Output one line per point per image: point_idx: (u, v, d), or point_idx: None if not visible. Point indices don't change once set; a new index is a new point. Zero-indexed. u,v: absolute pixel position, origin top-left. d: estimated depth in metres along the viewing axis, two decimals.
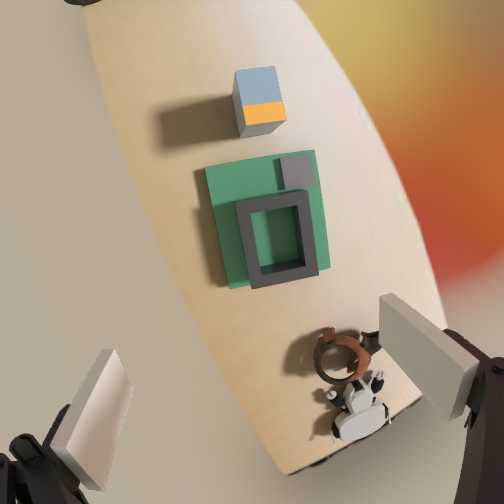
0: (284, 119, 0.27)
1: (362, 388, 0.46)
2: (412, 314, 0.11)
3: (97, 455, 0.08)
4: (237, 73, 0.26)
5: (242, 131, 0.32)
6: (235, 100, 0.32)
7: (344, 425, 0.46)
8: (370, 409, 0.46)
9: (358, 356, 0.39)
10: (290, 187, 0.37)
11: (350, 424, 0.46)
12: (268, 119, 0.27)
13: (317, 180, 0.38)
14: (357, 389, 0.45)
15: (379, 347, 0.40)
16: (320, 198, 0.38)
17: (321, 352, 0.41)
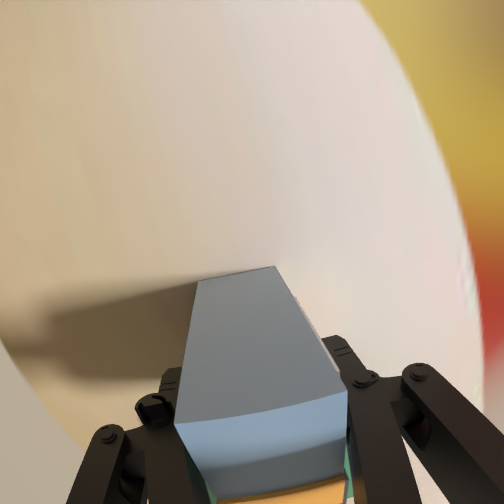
0: (337, 501, 0.08)
1: None
2: None
3: None
4: (184, 432, 0.06)
5: None
6: None
7: None
8: None
9: None
10: None
11: None
12: None
13: None
14: None
15: None
16: None
17: None
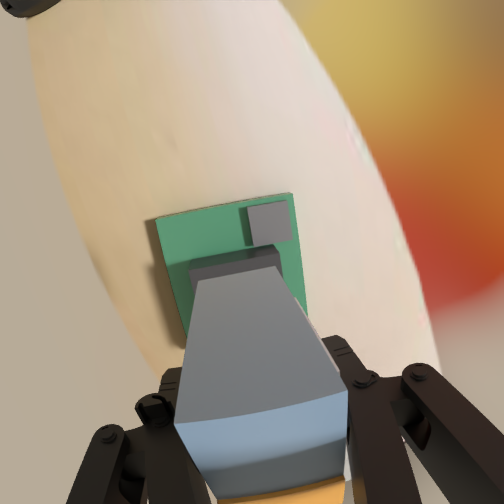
0: (337, 501, 0.07)
1: None
2: None
3: None
4: (184, 433, 0.06)
5: None
6: None
7: None
8: None
9: None
10: (260, 244, 0.30)
11: None
12: None
13: (295, 232, 0.31)
14: None
15: None
16: (298, 254, 0.32)
17: None
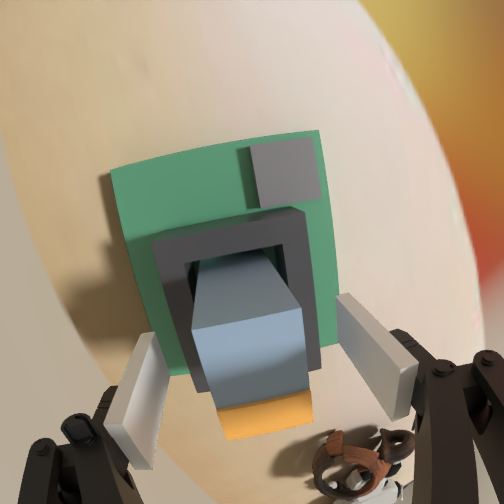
0: (308, 420, 0.12)
1: None
2: (362, 313, 0.12)
3: (146, 433, 0.09)
4: (197, 337, 0.10)
5: None
6: None
7: None
8: (380, 494, 0.28)
9: (374, 474, 0.22)
10: (271, 203, 0.19)
11: None
12: (274, 427, 0.12)
13: (324, 189, 0.20)
14: (365, 479, 0.27)
15: (404, 457, 0.23)
16: (329, 223, 0.20)
17: (323, 469, 0.24)
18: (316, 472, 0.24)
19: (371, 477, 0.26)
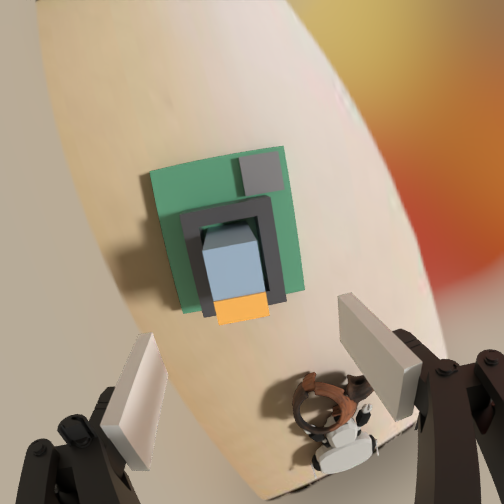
0: (267, 314, 0.23)
1: None
2: (365, 313, 0.12)
3: (143, 434, 0.09)
4: (205, 255, 0.22)
5: None
6: None
7: (325, 459, 0.40)
8: (355, 443, 0.40)
9: (341, 407, 0.33)
10: (252, 193, 0.30)
11: (331, 458, 0.40)
12: (246, 316, 0.23)
13: (287, 183, 0.31)
14: None
15: (366, 395, 0.34)
16: (291, 206, 0.31)
17: (299, 402, 0.35)
18: (294, 405, 0.36)
19: None
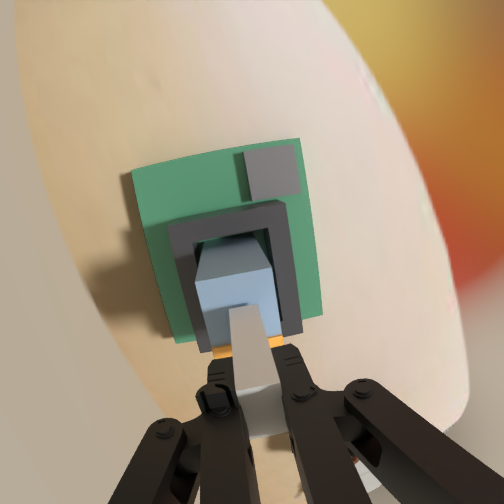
0: None
1: None
2: (256, 326, 0.13)
3: None
4: (199, 287, 0.15)
5: None
6: None
7: None
8: (368, 472, 0.33)
9: None
10: (260, 197, 0.24)
11: None
12: None
13: (304, 185, 0.24)
14: (353, 455, 0.33)
15: None
16: (308, 213, 0.25)
17: None
18: None
19: None
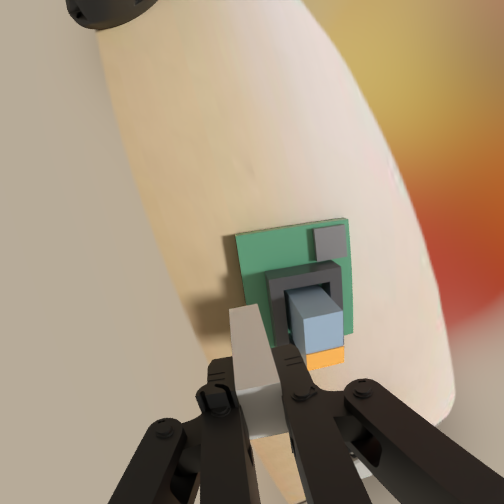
0: (342, 361, 0.29)
1: None
2: (256, 326, 0.13)
3: None
4: (305, 322, 0.28)
5: None
6: (291, 310, 0.34)
7: None
8: None
9: None
10: (322, 259, 0.36)
11: (356, 467, 0.45)
12: (328, 363, 0.29)
13: (348, 250, 0.37)
14: None
15: None
16: (349, 268, 0.38)
17: None
18: None
19: None
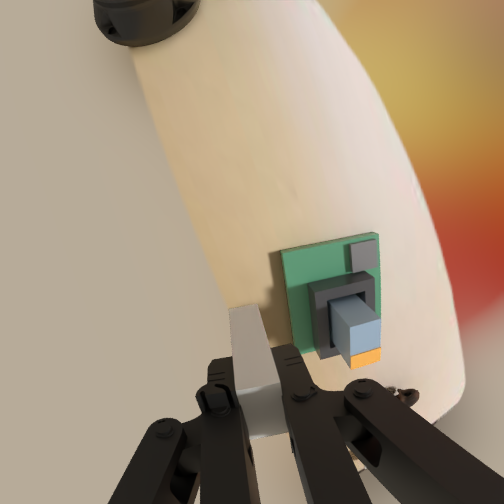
0: (378, 359, 0.33)
1: None
2: (256, 326, 0.13)
3: None
4: (351, 329, 0.32)
5: (337, 348, 0.38)
6: (332, 317, 0.38)
7: None
8: None
9: None
10: (357, 270, 0.40)
11: None
12: (367, 362, 0.33)
13: (378, 261, 0.41)
14: None
15: (413, 403, 0.44)
16: (379, 276, 0.41)
17: None
18: None
19: None
